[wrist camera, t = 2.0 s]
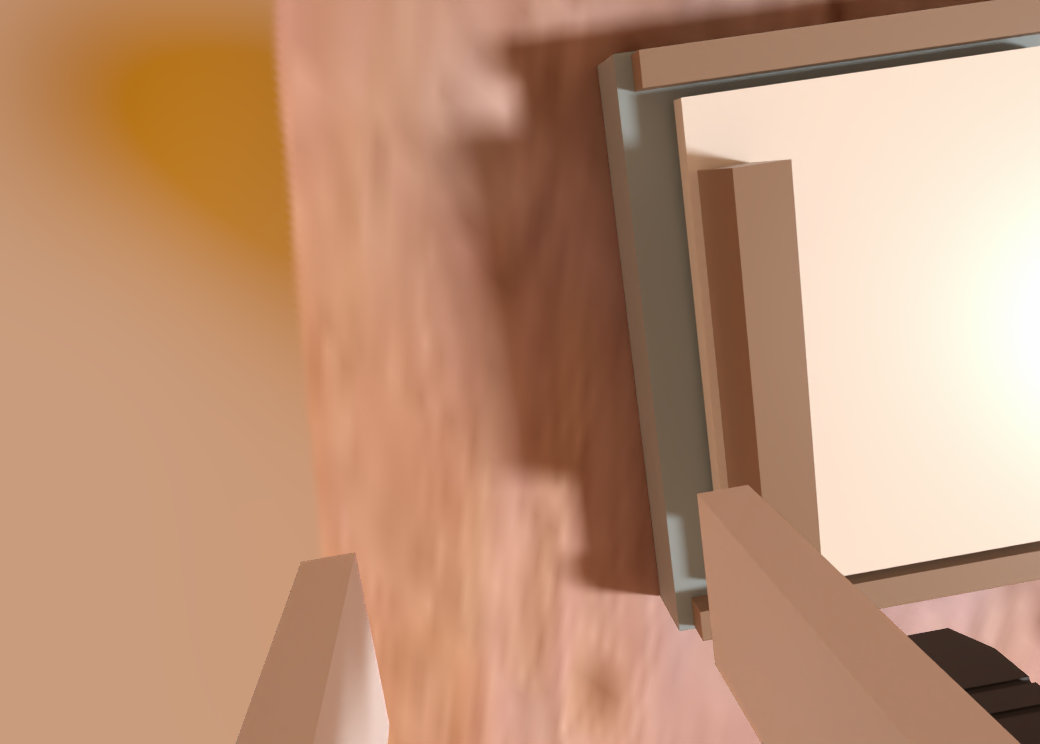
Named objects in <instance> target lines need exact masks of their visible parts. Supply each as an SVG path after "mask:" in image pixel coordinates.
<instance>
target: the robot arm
mask: <svg viewBox="0 0 1040 744" xmlns="http://www.w3.org/2000/svg"><path fill="white" fill-rule="evenodd" d="M697 499H698V508H699V518H700V527H701V537H702V546H703V555H704V565H705V574H706V584H707V593H708V602H709V612H710V621H711V630H712V640H713V649H714V659H715V665H716V666H717V668H718V670H719V672H720V673H721V675H722V677H723V678H724V680H725V682H726V684H727V685H728V687H729V689H730V690H731V692H732V694H733V695H734V697H735V699H736V701H737V702H738V704H739V706H740V707H741V709H742V711H743V713H744V714H745V716H746V718H747V719H748V721H749V723H750V724H751V726H752V728H753V730H754V731H755V733H756V735H757V736H758V738H759V740H760V741H761V743H762V744H1040V685H1038V684H1037V683H1036V682H1035V683H1031V682H1030V680H1029V676H1028V675H1026V674H1025V673H1024V672H1023V671H1021V670H1020V669H1019V668H1018V667H1017V666H1015V665H1014V664H1013V663H1012V662H1011V661H1009V660H1008V659H1007V658H1006V657H1004V656H1003V655H1002V654H1001V653H1000V652H998V651H997V650H996V649H995V648H992V647H990V646H988V645H986V644H983V643H981V642H979V641H976V640H974V639H972V638H970V637H967V636H965V635H963V634H960V633H958V632H956V631H954V630H951V629H949V628H946V629H941V630H935V631H930V632H925V633H919V634H914V635H908V636H907V635H906V634H905V633H904V632H903V631H901V630H900V629H899V628H898V627H897V626H896V625H895V624H894V623H893V622H892V621H891V620H890V619H889V618H888V617H887V616H886V615H885V614H884V613H883V612H881V611H880V610H879V609H878V608H877V607H876V606H875V605H874V604H873V603H872V602H871V601H870V600H869V599H868V598H867V597H866V596H865V595H864V594H863V593H861V592H860V591H859V590H858V589H857V588H856V587H855V586H854V585H853V584H852V583H851V582H850V581H849V580H848V579H847V578H846V577H845V576H844V575H843V574H841V573H840V572H839V571H838V570H837V569H836V568H835V567H834V566H833V565H832V564H831V563H830V562H829V561H828V560H827V559H826V558H825V557H824V556H823V555H821V554H820V553H819V552H818V551H817V550H816V549H815V548H814V547H813V546H812V545H811V544H810V543H809V542H808V541H807V540H806V539H805V538H804V537H803V536H801V535H800V534H799V533H798V532H797V531H796V530H795V529H794V528H793V527H792V526H791V525H790V524H789V523H788V522H787V521H786V520H785V519H784V518H783V517H781V516H780V515H779V514H778V513H777V512H776V511H775V510H774V509H773V508H772V507H771V506H770V505H769V504H768V503H767V502H766V501H765V500H764V499H763V498H761V497H760V496H759V495H758V494H757V493H756V492H755V491H754V490H753V489H752V488H751V487H750V486H749V485H745V486H739V487H733V488H727V489H721V490H716V491H710V492H704V493H698V494H697ZM388 734H389V720H388V715H387V710H386V705H385V700H384V695H383V690H382V685H381V680H380V675H379V670H378V665H377V660H376V654H375V649H374V644H373V639H372V634H371V629H370V624H369V619H368V614H367V609H366V604H365V599H364V594H363V589H362V584H361V579H360V574H359V569H358V564H357V559H356V554H355V553H350V554H344V555H338V556H332V557H327V558H321V559H315V560H310V561H303V562H301V564H300V566H299V569H298V572H297V575H296V577H295V580H294V583H293V586H292V589H291V591H290V594H289V597H288V600H287V603H286V606H285V608H284V611H283V614H282V617H281V619H280V622H279V625H278V628H277V630H276V633H275V636H274V639H273V641H272V644H271V647H270V650H269V653H268V656H267V658H266V661H265V664H264V666H263V669H262V672H261V675H260V678H259V681H258V683H257V686H256V689H255V691H254V694H253V697H252V700H251V703H250V705H249V708H248V711H247V714H246V716H245V719H244V722H243V725H242V728H241V730H240V733H239V736H238V739H237V742H236V744H388Z"/></svg>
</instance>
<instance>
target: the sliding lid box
mask: <svg viewBox="0 0 1040 744" xmlns="http://www.w3.org/2000/svg"><path fill="white" fill-rule="evenodd" d="M1037 46H1040V0H991V1H984V2H977V3H970V4H963V5H956V6H948V7H941V8H934V9H927V10H920V11H913V12H906V13H898V14H891V15H884V16H877V17H870V18H863V19H856V20H848V21H841V22H834V23H827V24H820V25H813V26H806V27H799V28H791V29H784V30H777V31H770V32H763V33H756V34H749V35H741V36H734V37H727V38H720V39H713V40H706V41H699V42H691V43H684V44H677V45H670V46H663V47H656V48H649V49H642V50H638V51H631V52H624V53H617V54H612V55H611V56H610V57H609V58H607V59H606V60H605V61H603V62H602V63H601V64H599V65H598V66H597V68H598V76H599V84H600V93H601V101H602V110H603V118H604V126H605V135H606V143H607V152H608V160H609V168H610V177H611V185H612V194H613V202H614V210H615V219H616V227H617V236H618V244H619V252H620V261H621V269H622V278H623V286H624V294H625V303H626V311H627V320H628V328H629V336H630V345H631V353H632V362H633V370H634V378H635V387H636V395H637V404H638V412H639V420H640V429H641V437H642V446H643V454H644V462H645V471H646V479H647V487H648V496H649V504H650V513H651V521H652V529H653V538H654V546H655V555H656V563H657V571H658V580H659V588H660V597H661V598H662V600H663V602H664V604H665V606H666V607H667V609H668V611H669V613H670V615H671V617H672V618H673V620H674V622H675V624H676V626H677V627H678V629H679V631H683V630H688V629H694V628H696V630H697V631H698V633H699V635H700V636H701V638H702V640H703V641H706V640H711V639H712V630H711V621H710V612H709V602H708V593H707V584H706V574H705V565H704V555H703V546H702V537H701V527H700V518H699V508H698V499H697V494H698V493H704V492H710V491H713V483H712V473H711V463H710V454H709V444H708V434H707V424H706V414H705V405H704V395H703V385H702V375H701V365H700V356H699V346H698V336H697V326H696V316H695V307H694V297H693V287H692V277H691V267H690V258H689V248H688V238H687V228H686V218H685V209H684V199H683V189H682V179H681V170H680V160H679V150H678V140H677V130H676V121H675V111H674V101H673V100H676V99H679V98H682V97H689V96H696V95H703V94H710V93H717V92H724V91H731V90H738V89H745V88H752V87H759V86H766V85H773V84H779V83H786V82H793V81H800V80H807V79H814V78H821V77H828V76H835V75H842V74H849V73H856V72H863V71H870V70H877V69H884V68H891V67H898V66H905V65H911V64H918V63H925V62H932V61H939V60H946V59H953V58H960V57H967V56H974V55H981V54H988V53H995V52H1002V51H1009V50H1016V49H1023V48H1030V47H1037ZM845 577H846V578H847V579H848V580H849V581H850V582H851V583H852V584H853V585H854V586H855V587H856V588H857V589H858V590H859V591H860V592H861V593H863V594H864V595H865V596H866V597H867V598H868V599H869V600H870V601H871V602H872V603H873V604H874V605H875V606H876V607H877V608H878V609H881V608H887V607H892V606H897V605H903V604H908V603H914V602H919V601H925V600H930V599H936V598H941V597H947V596H952V595H958V594H963V593H969V592H974V591H980V590H985V589H991V588H996V587H1001V586H1007V585H1012V584H1018V583H1023V582H1029V581H1034V580H1040V541H1036V542H1030V543H1025V544H1019V545H1013V546H1008V547H1002V548H997V549H991V550H986V551H980V552H975V553H969V554H963V555H958V556H952V557H947V558H941V559H936V560H930V561H924V562H919V563H913V564H908V565H902V566H897V567H891V568H886V569H880V570H874V571H869V572H863V573H858V574H852V575H847V576H845Z"/></svg>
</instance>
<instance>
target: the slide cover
mask: <svg viewBox="0 0 1040 744" xmlns="http://www.w3.org/2000/svg"><path fill="white" fill-rule="evenodd" d="M673 101H674V111H675V121H676V130H677V140H678V150H679V160H680V170H681V179H682V189H683V199H684V209H685V218H686V228H687V238H688V248H689V258H690V267H691V277H692V287H693V297H694V307H695V316H696V326H697V336H698V346H699V356H700V365H701V375H702V385H703V395H704V405H705V414H706V424H707V434H708V444H709V454H710V463H711V473H712V483H713V491H716V490H721V489H727V488H733V487H739V486H745V485H749V486H750V487H751V488H752V489H753V490H754V491H755V492H756V493H757V494H758V495H759V496H760V497H761V498H763V499H764V500H765V501H766V502H767V503H768V504H769V505H770V506H771V507H772V508H773V509H774V510H775V511H776V512H777V513H778V514H779V515H780V516H781V517H783V518H784V519H785V520H786V521H787V522H788V523H789V524H790V525H791V526H792V527H793V528H794V529H795V530H796V531H797V532H798V533H799V534H800V535H801V536H803V537H804V538H805V539H806V540H807V541H808V542H809V543H810V544H811V545H812V546H813V547H814V548H815V549H816V550H817V551H818V552H819V553H820V554H821V555H823V556H824V557H825V558H826V559H827V560H828V561H829V562H830V563H831V564H832V565H833V566H834V567H835V568H836V569H837V570H838V571H839V572H840V573H841V574H843V575H844V576H847V575H852V574H858V573H863V572H869V571H874V570H880V569H886V568H891V567H897V566H902V565H908V564H913V563H919V562H924V561H930V560H936V559H941V558H947V557H952V556H958V555H963V554H969V553H975V552H980V551H986V550H991V549H997V548H1002V547H1008V546H1013V545H1019V544H1025V543H1030V542H1036V541H1040V46H1037V47H1030V48H1023V49H1016V50H1009V51H1002V52H995V53H988V54H981V55H974V56H967V57H960V58H953V59H946V60H939V61H932V62H925V63H918V64H911V65H905V66H898V67H891V68H884V69H877V70H870V71H863V72H856V73H849V74H842V75H835V76H828V77H821V78H814V79H807V80H800V81H793V82H786V83H779V84H773V85H766V86H759V87H752V88H745V89H738V90H731V91H724V92H717V93H710V94H703V95H696V96H689V97H682V98H679V99H676V100H673Z"/></svg>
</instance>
